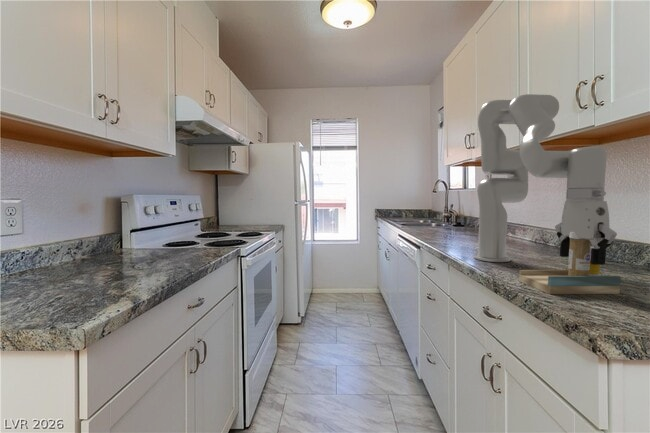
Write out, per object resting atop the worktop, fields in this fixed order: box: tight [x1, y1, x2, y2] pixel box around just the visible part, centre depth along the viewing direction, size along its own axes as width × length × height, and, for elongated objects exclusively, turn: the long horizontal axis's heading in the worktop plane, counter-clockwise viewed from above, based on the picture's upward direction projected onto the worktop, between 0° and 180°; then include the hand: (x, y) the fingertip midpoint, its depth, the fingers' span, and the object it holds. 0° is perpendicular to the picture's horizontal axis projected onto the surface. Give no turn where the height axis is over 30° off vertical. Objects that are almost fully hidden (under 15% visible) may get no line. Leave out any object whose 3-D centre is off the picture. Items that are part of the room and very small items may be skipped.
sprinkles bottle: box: [568, 232, 592, 276], centre depth 81 cm, size 5×5×13 cm
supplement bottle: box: [589, 245, 601, 276], centre depth 91 cm, size 5×5×10 cm
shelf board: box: [518, 269, 622, 295], centre depth 83 cm, size 12×18×4 cm, turn 91°
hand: (580, 260), depth 80 cm, fingers open, 9 cm apart
